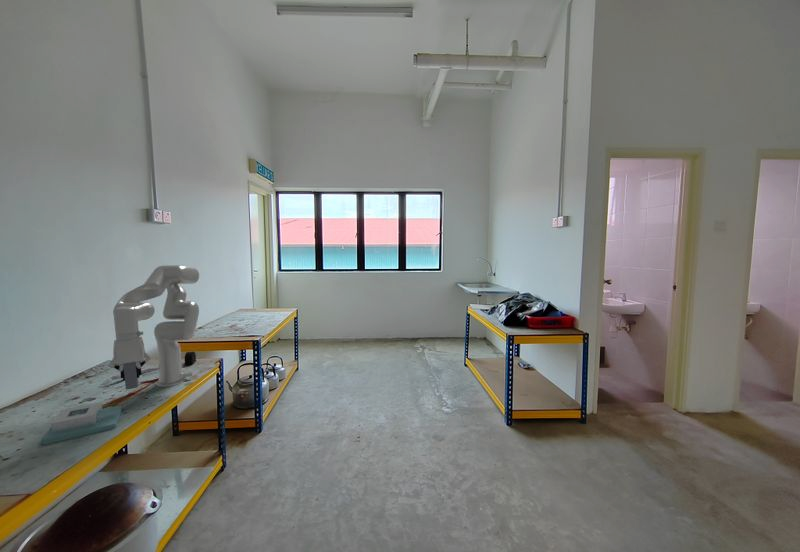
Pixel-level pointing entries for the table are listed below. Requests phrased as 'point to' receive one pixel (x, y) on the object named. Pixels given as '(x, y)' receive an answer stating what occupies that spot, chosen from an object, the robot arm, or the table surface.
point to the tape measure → (190, 358)
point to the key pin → (130, 375)
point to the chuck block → (82, 422)
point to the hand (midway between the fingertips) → (131, 377)
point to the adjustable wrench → (141, 372)
